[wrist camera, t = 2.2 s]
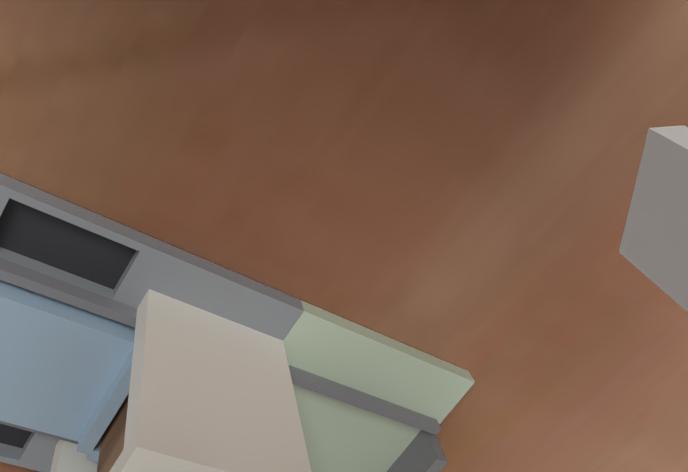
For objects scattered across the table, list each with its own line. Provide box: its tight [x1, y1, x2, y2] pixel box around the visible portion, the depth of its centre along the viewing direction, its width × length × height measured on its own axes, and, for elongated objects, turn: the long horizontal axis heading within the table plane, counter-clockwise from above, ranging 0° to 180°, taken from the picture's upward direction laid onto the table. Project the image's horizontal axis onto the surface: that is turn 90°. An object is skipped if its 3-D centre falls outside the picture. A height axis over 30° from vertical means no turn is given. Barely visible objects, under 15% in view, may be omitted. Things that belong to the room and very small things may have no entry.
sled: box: [0, 280, 135, 462], centre depth 36 cm, size 26×8×6 cm, turn 56°
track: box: [0, 173, 475, 472], centre depth 36 cm, size 43×18×13 cm, turn 56°
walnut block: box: [97, 393, 129, 472], centre depth 37 cm, size 6×6×7 cm
